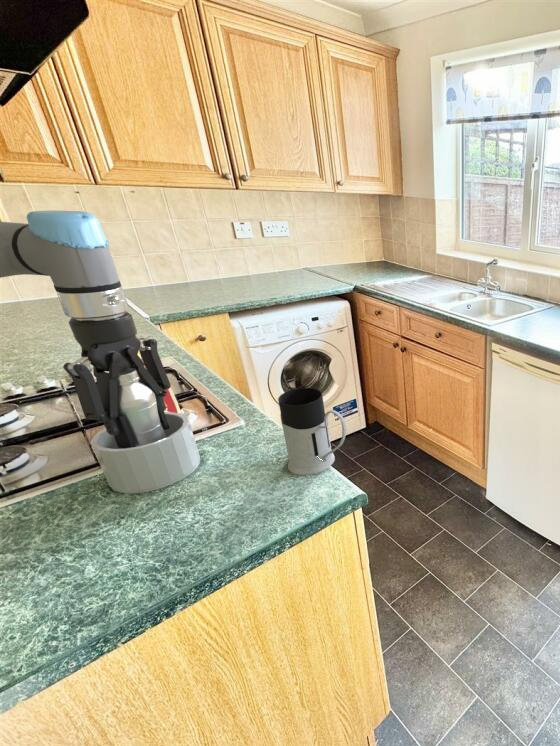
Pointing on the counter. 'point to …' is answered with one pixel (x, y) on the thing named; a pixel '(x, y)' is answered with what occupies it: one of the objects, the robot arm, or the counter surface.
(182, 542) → the counter surface
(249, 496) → the counter surface
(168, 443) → the bowl
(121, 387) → the plastic bottle
